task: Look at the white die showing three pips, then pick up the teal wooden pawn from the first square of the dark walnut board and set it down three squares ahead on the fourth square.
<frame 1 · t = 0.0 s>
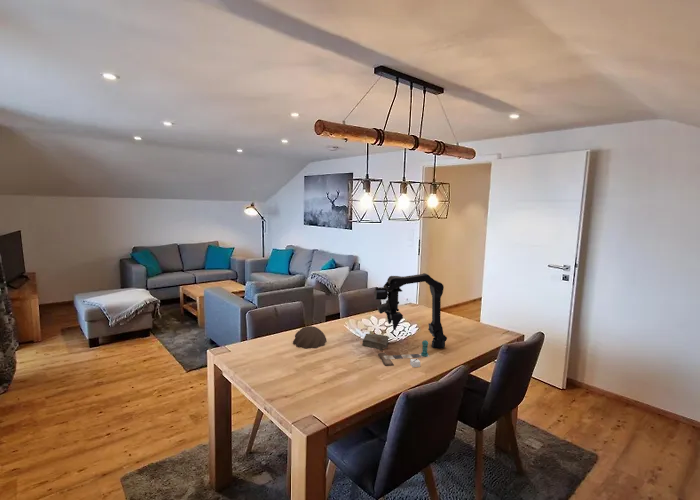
hand: (391, 326, 208), 15 cm above the table, tool pointing down, fingers open, 9 cm apart
board: (406, 358, 201), on the table
decorative dome: (309, 343, 221), on the table
pawn: (424, 355, 203), point 1 cm above the table, touching board
marble piece: (375, 345, 221), on the table
die: (414, 368, 191), on the table
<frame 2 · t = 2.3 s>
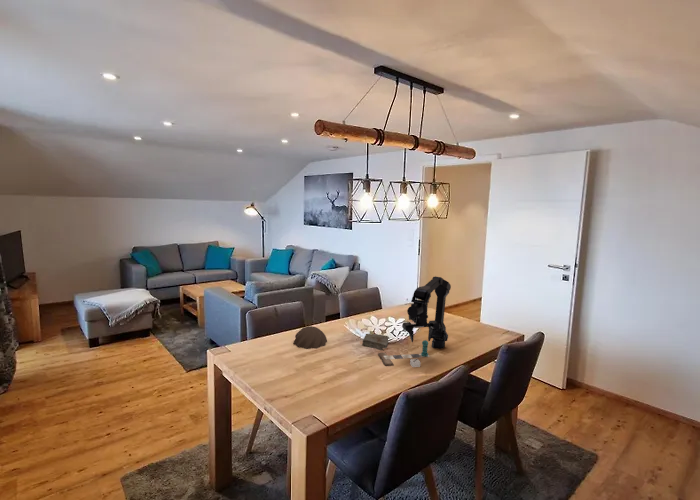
hand: (420, 341, 195), 12 cm above the table, tool pointing down, fingers open, 9 cm apart
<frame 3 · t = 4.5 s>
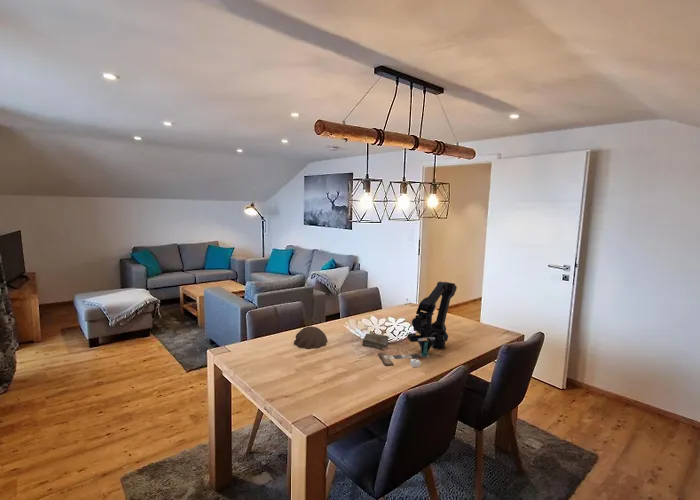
hand: (424, 352, 203), 3 cm above the table, tool pointing down, fingers closed on pawn, 3 cm apart
pawn: (424, 355, 203), point 1 cm above the table, touching board, gripper
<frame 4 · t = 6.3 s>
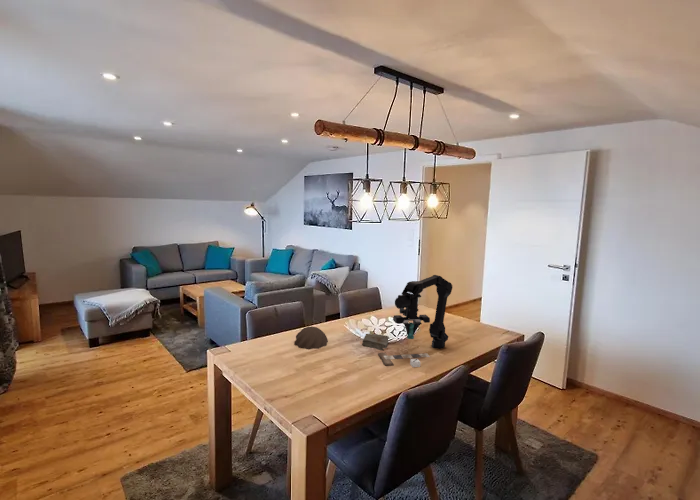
hand: (410, 334, 199), 14 cm above the table, tool pointing down, fingers closed on pawn, 3 cm apart
pawn: (410, 337, 199), point 12 cm above the table, touching gripper
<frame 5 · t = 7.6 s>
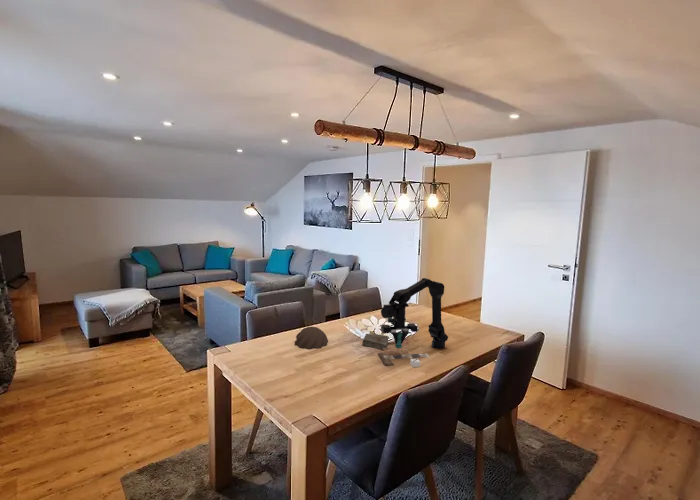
hand: (398, 343, 199), 9 cm above the table, tool pointing down, fingers closed on pawn, 3 cm apart
pawn: (398, 347, 199), point 7 cm above the table, touching gripper
when the fingers open (4 cm above the table, at t = 8.5 s): pawn drops 1 cm, resting on board.
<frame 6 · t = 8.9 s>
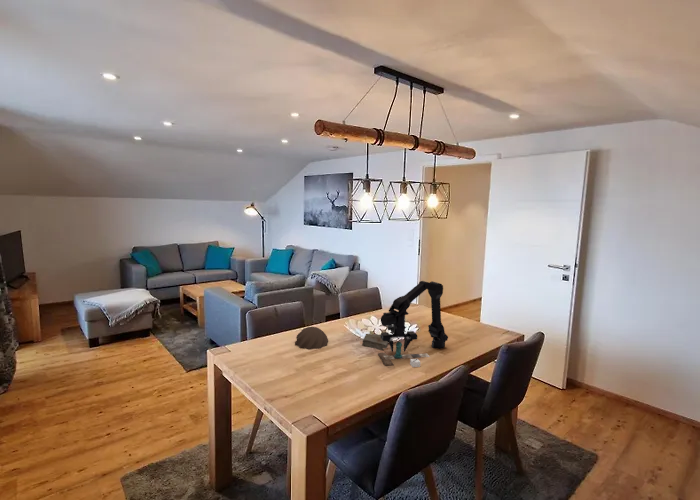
hand: (398, 351, 200), 4 cm above the table, tool pointing down, fingers open, 6 cm apart
pawn: (398, 356, 200), point 1 cm above the table, touching board
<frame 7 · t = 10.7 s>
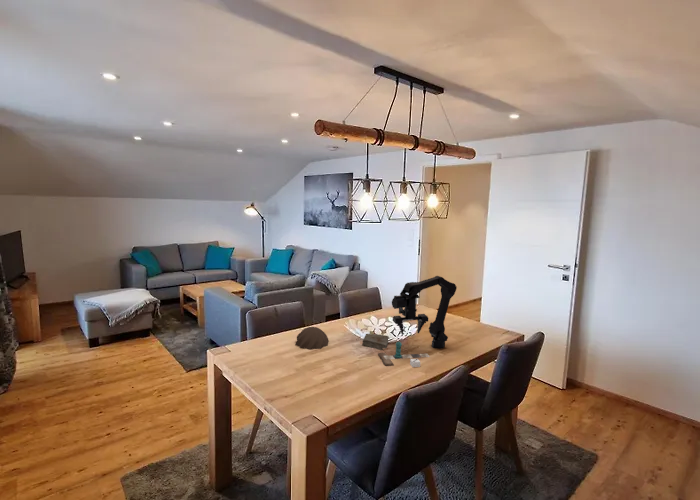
hand: (410, 333, 206), 12 cm above the table, tool pointing down, fingers open, 9 cm apart
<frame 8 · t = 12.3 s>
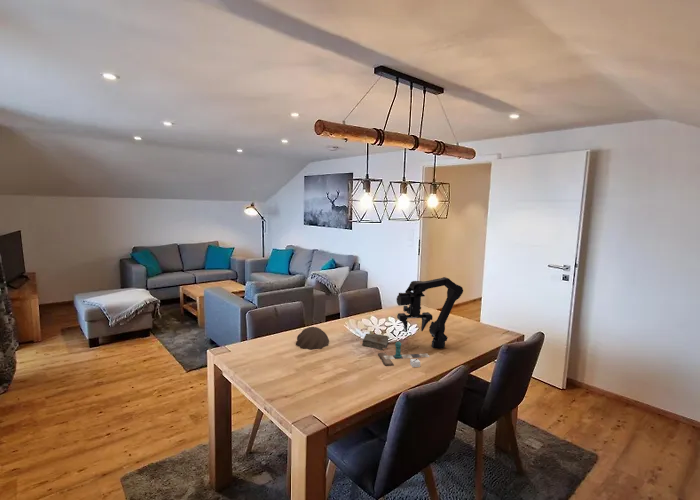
hand: (414, 331, 208), 12 cm above the table, tool pointing down, fingers open, 9 cm apart
at the end: pawn 0.1 cm from the target spot on the board, point 1.4 cm above the board's base; pawn tilted 1°; die moved 0.1 cm from its start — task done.
